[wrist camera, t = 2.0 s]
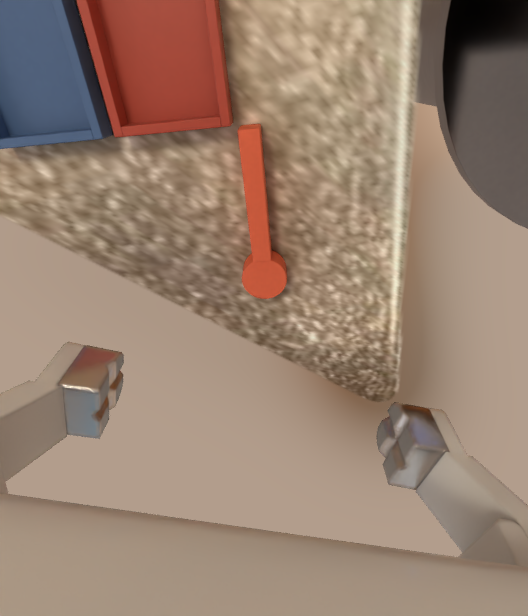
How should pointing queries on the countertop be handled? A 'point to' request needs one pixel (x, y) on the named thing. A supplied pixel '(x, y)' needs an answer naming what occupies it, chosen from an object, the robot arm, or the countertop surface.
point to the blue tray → (47, 76)
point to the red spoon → (258, 220)
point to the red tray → (159, 64)
